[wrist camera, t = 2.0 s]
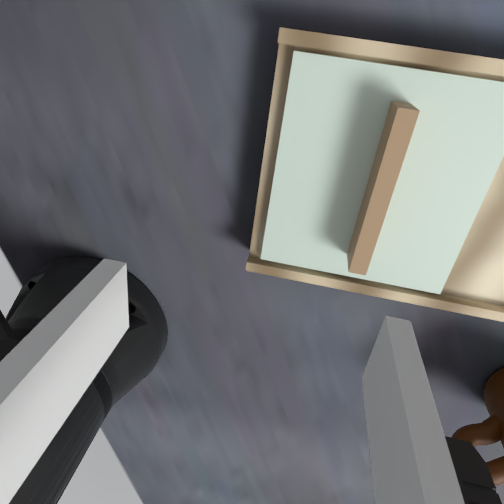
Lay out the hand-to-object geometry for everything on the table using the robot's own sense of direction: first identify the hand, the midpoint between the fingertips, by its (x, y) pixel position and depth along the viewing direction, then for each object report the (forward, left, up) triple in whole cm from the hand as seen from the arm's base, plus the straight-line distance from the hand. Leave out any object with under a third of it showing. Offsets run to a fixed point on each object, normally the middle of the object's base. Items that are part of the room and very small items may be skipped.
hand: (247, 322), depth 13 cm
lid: (+6, 0, -17) cm, 18 cm away
